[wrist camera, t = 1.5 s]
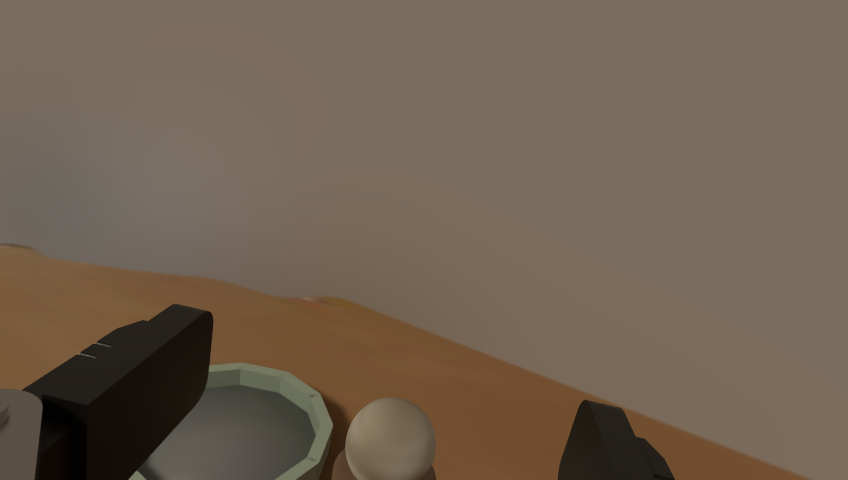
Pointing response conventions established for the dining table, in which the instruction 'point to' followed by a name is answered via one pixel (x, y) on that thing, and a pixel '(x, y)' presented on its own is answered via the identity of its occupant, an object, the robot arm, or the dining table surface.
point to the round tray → (246, 430)
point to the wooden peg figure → (388, 444)
